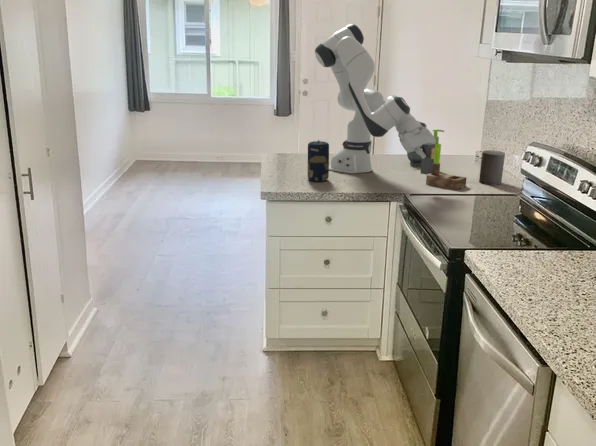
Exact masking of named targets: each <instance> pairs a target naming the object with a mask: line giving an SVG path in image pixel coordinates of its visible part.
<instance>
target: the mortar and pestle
mask: <svg viewBox="0 0 596 446" xmlns="http://www.w3.org/2000/svg"><path fill="white" fill-rule="evenodd" d="M406 156H407V158H408V160H409V161H410V162H409V165H410V166H413V167H416V166H417V167H421V159H422V157H421V156H420V155H419V154H417V153H416V152H415V151H413V152H409V153H408V152H407V151H406Z"/></svg>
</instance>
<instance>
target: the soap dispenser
mask: <svg viewBox="0 0 596 446" xmlns="http://www.w3.org/2000/svg"><path fill="white" fill-rule="evenodd" d="M432 132H433V136H434V138H435V140H436V143H435V156H434V163H440V164H441V150H442V149H441V148H442V144H441V143H440V142H439V141H440V140H439V139H440V137H439V136H438V132H442V133H445V130H443V129H432Z"/></svg>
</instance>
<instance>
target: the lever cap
mask: <svg viewBox="0 0 596 446" xmlns="http://www.w3.org/2000/svg"><path fill="white" fill-rule="evenodd" d="M421 150H422V151H423V152H424V153H426V155H427V157H426V158H424V159H423V158H422V159H421V166H420V174H421V175H426V176H427V175H429V174H431V173H433V166H434V156H435V144H432V143H427V144H423V146H422V149H421Z"/></svg>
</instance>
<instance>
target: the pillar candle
mask: <svg viewBox="0 0 596 446" xmlns="http://www.w3.org/2000/svg"><path fill="white" fill-rule="evenodd" d="M505 157H506V153H505V152H504V151H500V150H495V149H493V150H492V149H491V150H482V153H481V161H480V168H479V169H480V171H479V178H478V179H479V181H478V182H479V184H483V185H488V186H489V185H490V186H499V185H501V184H502V182H503V181H502V180H503V179H502V178H503V175H504V174H503V172H504V163H505Z"/></svg>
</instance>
